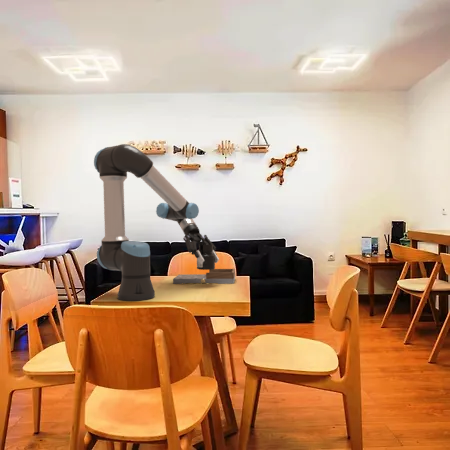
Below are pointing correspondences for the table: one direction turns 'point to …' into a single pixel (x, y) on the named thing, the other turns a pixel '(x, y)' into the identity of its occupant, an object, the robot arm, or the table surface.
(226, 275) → the holder
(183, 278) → the hinge
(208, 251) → the ink bottle
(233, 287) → the table surface
